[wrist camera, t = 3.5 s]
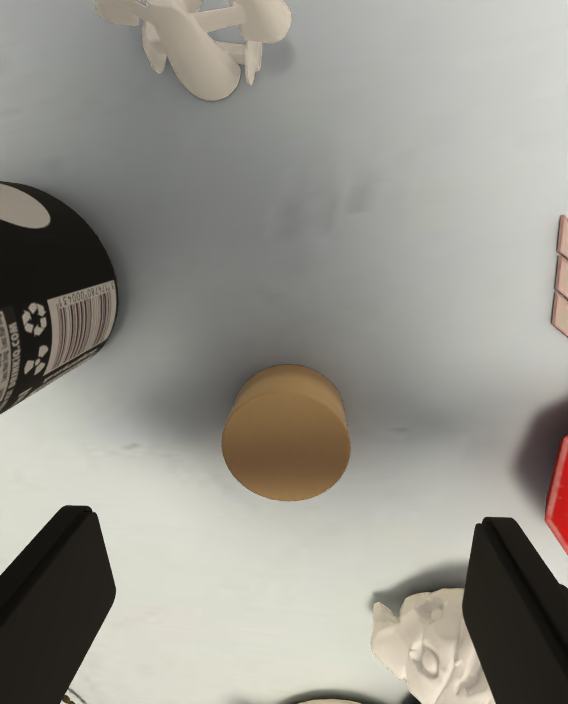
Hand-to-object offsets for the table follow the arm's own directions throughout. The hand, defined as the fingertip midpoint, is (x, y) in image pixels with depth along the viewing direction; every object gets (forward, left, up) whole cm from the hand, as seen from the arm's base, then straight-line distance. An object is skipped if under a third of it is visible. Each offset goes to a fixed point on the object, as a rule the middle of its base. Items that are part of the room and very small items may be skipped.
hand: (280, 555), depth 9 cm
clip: (-12, -2, -7) cm, 14 cm away
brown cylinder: (0, 0, -6) cm, 6 cm away
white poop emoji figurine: (+7, +5, -3) cm, 10 cm away
